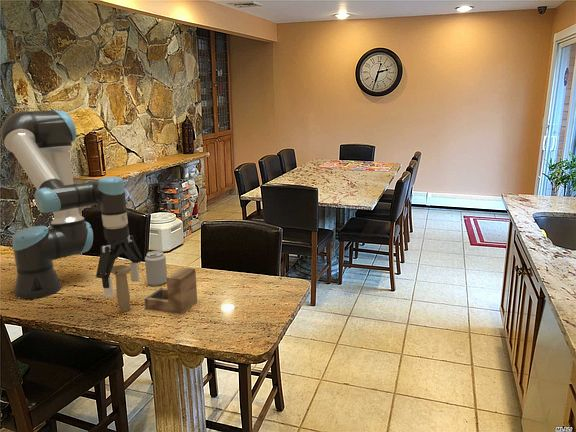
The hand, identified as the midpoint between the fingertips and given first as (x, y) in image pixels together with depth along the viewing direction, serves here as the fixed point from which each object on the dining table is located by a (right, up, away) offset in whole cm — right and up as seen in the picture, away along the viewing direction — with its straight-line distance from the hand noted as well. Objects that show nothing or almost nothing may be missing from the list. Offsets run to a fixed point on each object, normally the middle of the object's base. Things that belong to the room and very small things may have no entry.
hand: (122, 288), depth 154 cm
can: (+4, -2, +25) cm, 26 cm away
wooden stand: (+16, -6, +5) cm, 18 cm away
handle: (0, -8, +2) cm, 8 cm away
